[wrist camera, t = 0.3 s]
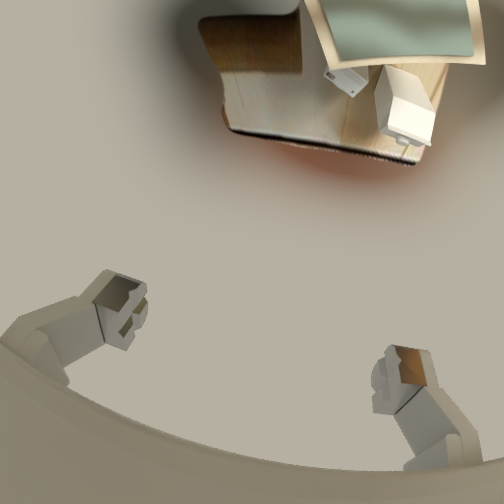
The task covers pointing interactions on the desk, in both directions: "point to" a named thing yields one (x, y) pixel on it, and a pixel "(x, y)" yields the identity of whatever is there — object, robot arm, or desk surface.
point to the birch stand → (398, 31)
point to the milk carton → (403, 107)
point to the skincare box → (348, 78)
